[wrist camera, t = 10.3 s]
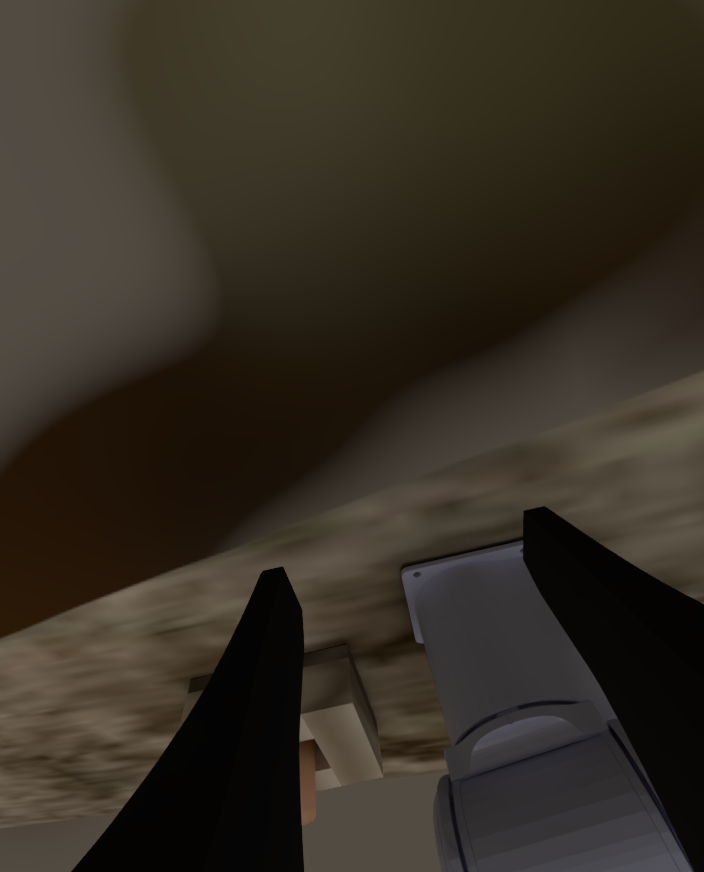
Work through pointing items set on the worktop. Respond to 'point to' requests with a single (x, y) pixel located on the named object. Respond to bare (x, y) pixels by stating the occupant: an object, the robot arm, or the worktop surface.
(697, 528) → the worktop surface
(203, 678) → the socket block
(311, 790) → the peg
